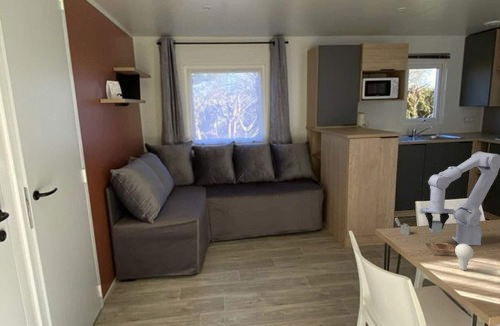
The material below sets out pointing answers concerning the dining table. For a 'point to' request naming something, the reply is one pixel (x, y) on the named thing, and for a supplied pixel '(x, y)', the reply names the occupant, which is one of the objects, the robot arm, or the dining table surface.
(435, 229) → the block
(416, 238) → the dining table surface
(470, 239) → the robot arm
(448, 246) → the base plate
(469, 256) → the lightbulb
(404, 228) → the lighter
